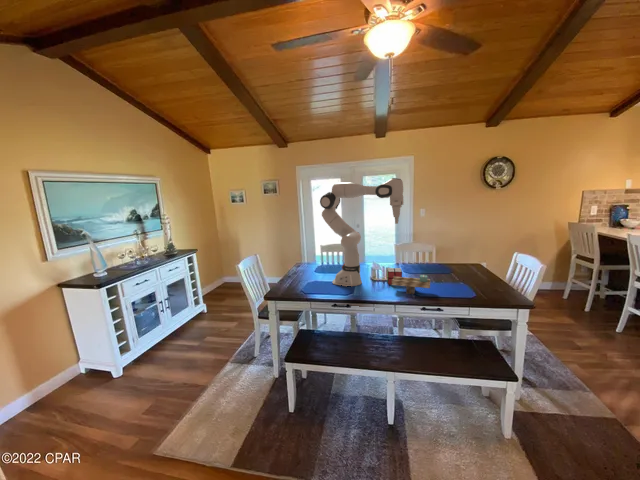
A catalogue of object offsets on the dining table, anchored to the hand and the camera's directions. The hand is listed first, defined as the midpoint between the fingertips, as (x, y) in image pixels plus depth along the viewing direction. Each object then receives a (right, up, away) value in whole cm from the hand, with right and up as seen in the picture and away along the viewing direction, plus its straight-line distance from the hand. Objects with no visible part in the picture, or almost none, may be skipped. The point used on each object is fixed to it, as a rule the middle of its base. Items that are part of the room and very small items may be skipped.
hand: (396, 222), depth 186 cm
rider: (+16, -41, -6) cm, 44 cm away
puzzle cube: (+3, -44, +18) cm, 48 cm away
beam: (+9, -47, -2) cm, 48 cm away
